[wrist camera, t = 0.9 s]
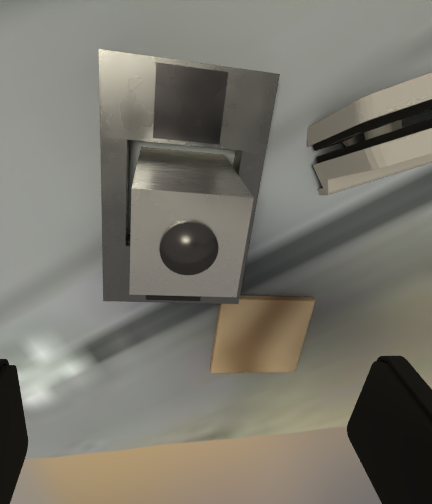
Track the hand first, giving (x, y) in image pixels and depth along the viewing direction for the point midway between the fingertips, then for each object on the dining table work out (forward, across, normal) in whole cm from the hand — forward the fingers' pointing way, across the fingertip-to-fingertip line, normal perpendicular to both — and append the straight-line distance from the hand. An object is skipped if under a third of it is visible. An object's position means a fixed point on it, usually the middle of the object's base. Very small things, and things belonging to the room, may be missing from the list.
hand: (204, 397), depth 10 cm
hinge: (+18, -16, -7) cm, 26 cm away
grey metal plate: (+18, 0, 0) cm, 18 cm away
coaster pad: (+18, -8, +12) cm, 23 cm away
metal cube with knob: (+18, 0, 0) cm, 18 cm away
